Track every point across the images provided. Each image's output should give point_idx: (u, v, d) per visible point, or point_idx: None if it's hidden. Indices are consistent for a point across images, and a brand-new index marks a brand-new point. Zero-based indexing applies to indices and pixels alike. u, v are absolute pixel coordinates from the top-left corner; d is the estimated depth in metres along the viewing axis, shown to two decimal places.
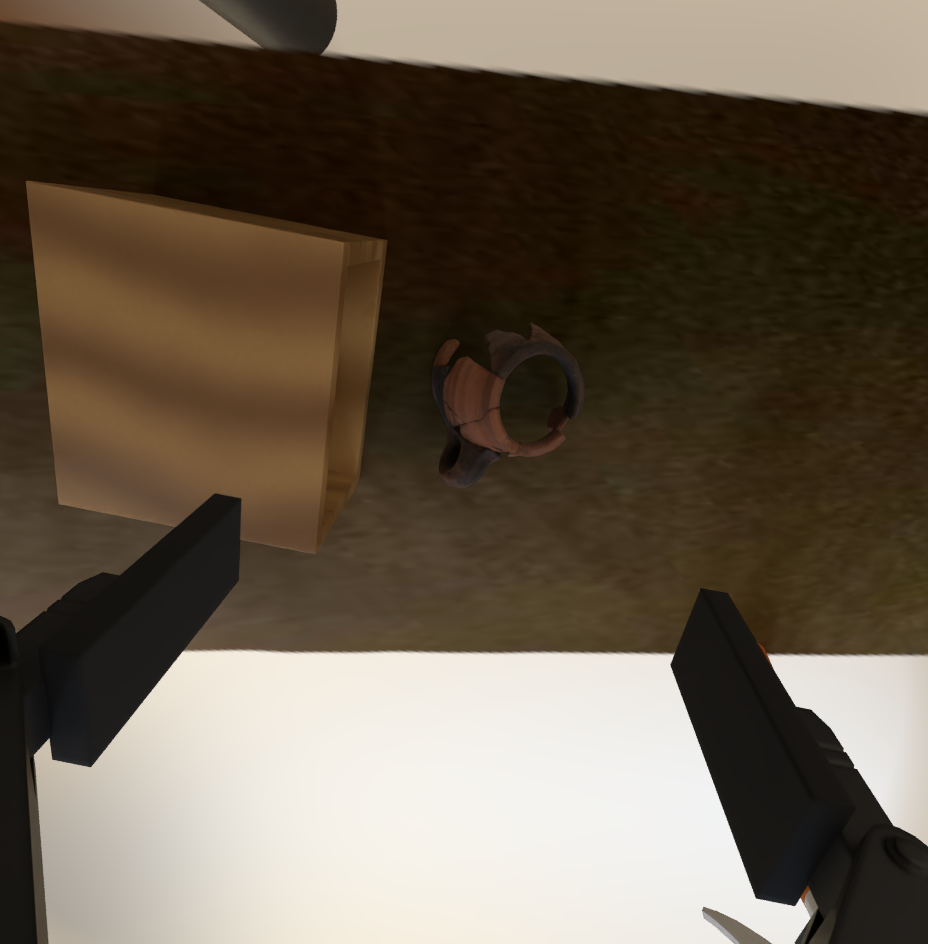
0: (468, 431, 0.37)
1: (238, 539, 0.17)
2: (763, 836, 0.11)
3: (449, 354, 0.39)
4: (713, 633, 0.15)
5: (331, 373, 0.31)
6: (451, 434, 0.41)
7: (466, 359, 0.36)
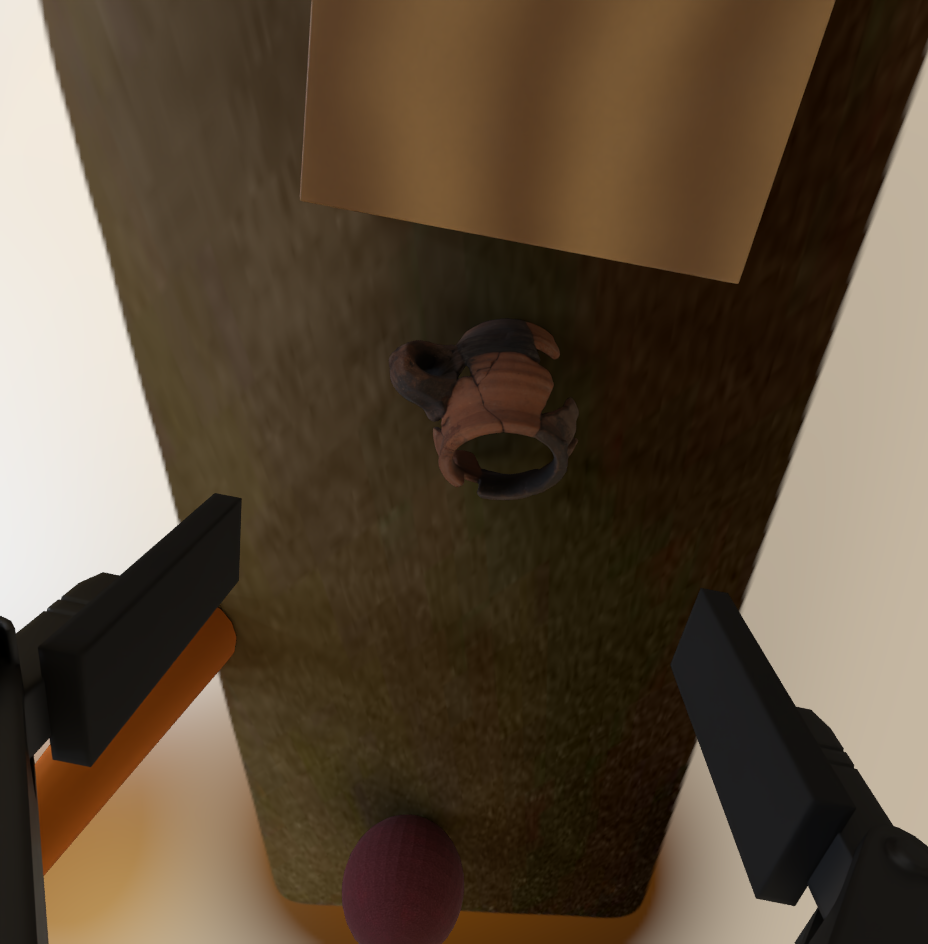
0: (467, 389, 0.31)
1: (238, 539, 0.17)
2: (763, 836, 0.11)
3: (545, 350, 0.34)
4: (713, 633, 0.15)
5: (575, 252, 0.24)
6: (449, 352, 0.34)
7: (551, 385, 0.31)
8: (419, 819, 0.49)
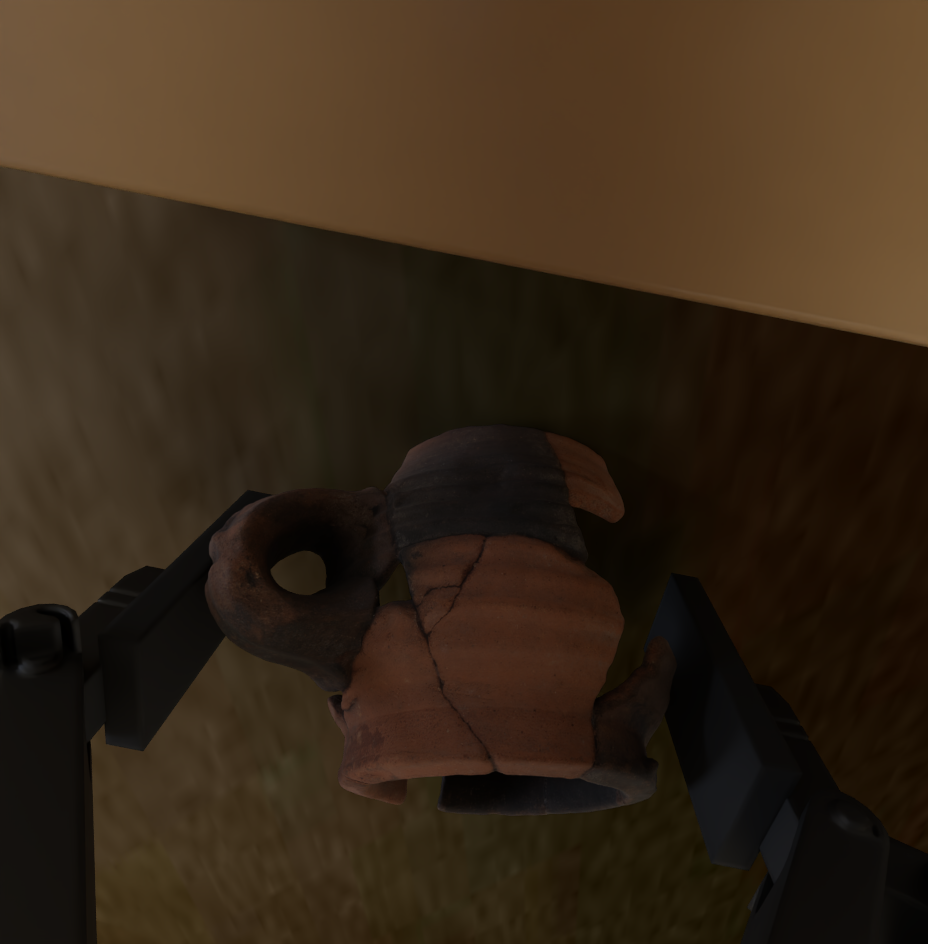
0: (399, 645, 0.12)
1: None
2: (718, 804, 0.12)
3: (593, 507, 0.14)
4: (681, 615, 0.15)
5: (884, 333, 0.04)
6: (367, 513, 0.14)
7: (619, 626, 0.12)
8: None
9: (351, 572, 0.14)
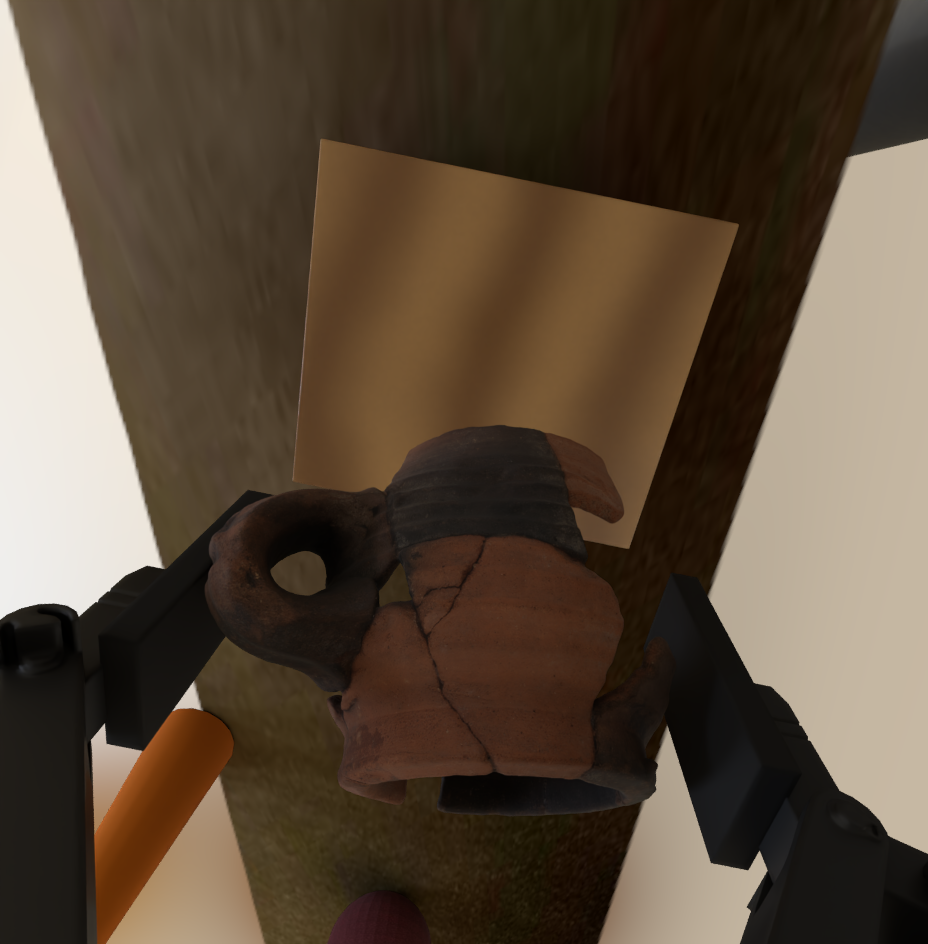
0: (399, 646, 0.12)
1: None
2: (718, 803, 0.12)
3: (592, 508, 0.14)
4: (681, 615, 0.15)
5: None
6: (367, 514, 0.14)
7: (619, 628, 0.12)
8: (393, 896, 0.56)
9: (351, 572, 0.14)
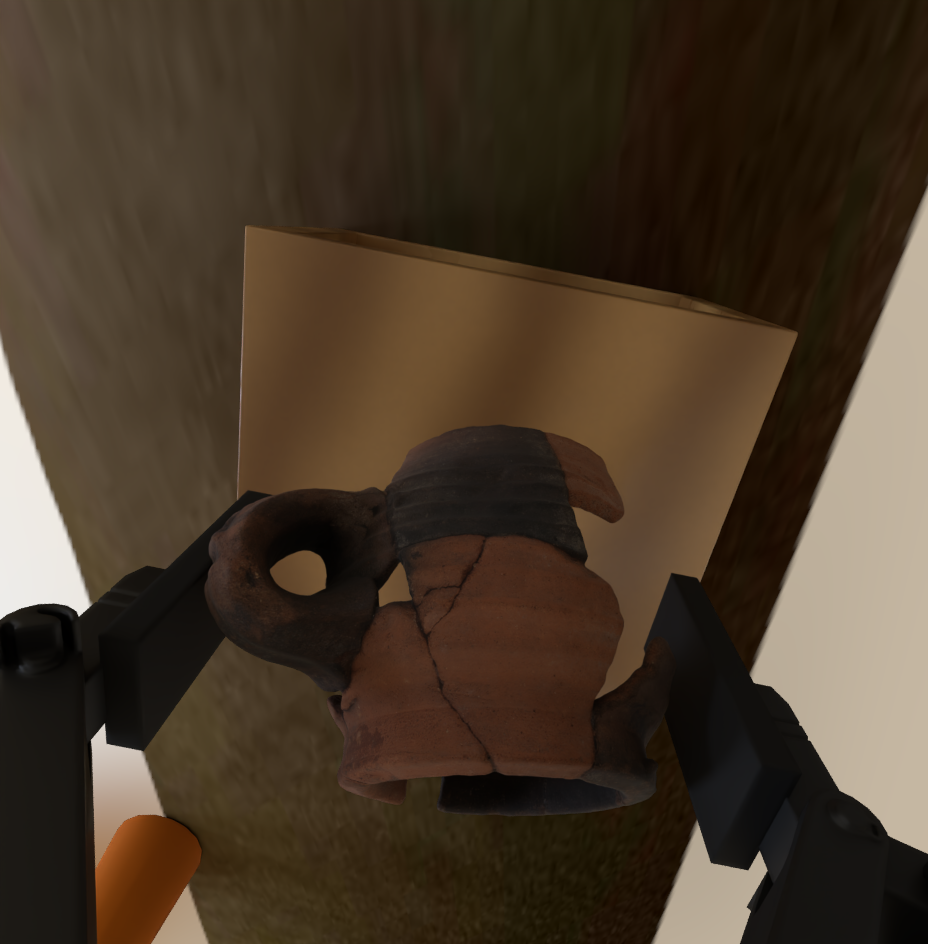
0: (399, 645, 0.12)
1: None
2: (718, 803, 0.12)
3: (593, 508, 0.14)
4: (681, 615, 0.15)
5: None
6: (367, 514, 0.14)
7: (619, 627, 0.12)
8: None
9: (351, 572, 0.14)
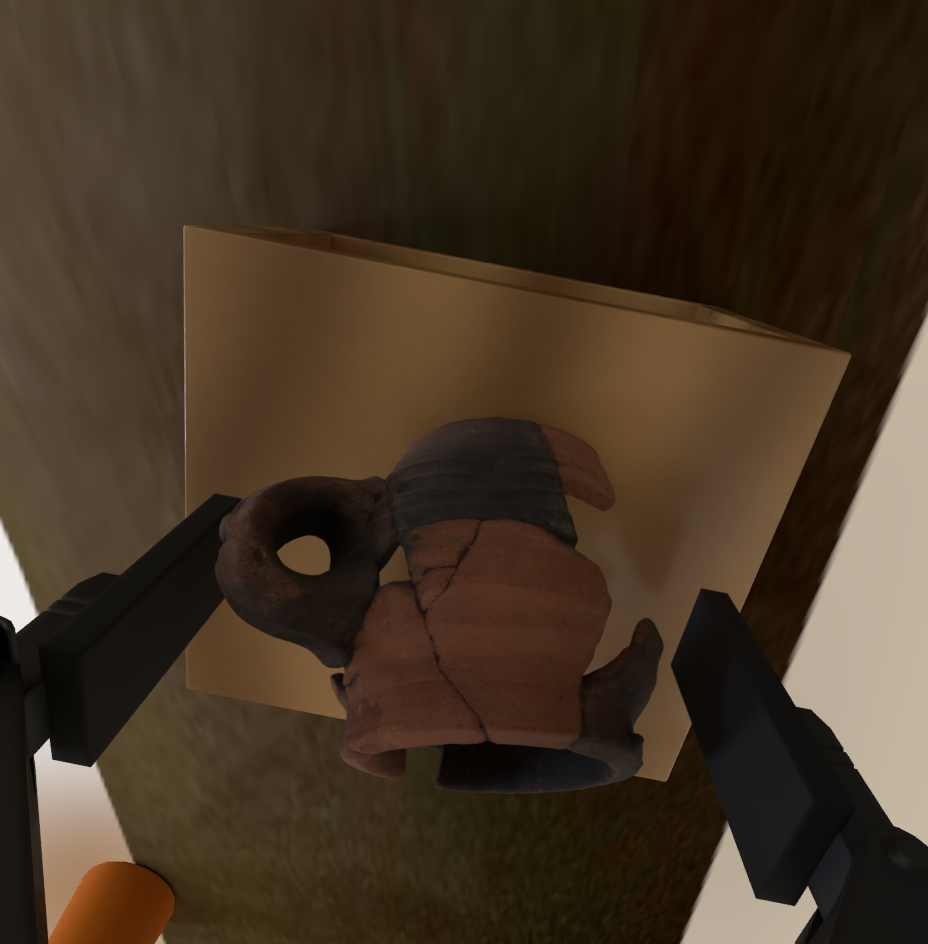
0: (398, 621, 0.13)
1: None
2: (763, 836, 0.11)
3: (585, 495, 0.15)
4: (713, 633, 0.15)
5: None
6: (369, 500, 0.15)
7: (607, 606, 0.13)
8: None
9: (353, 555, 0.14)
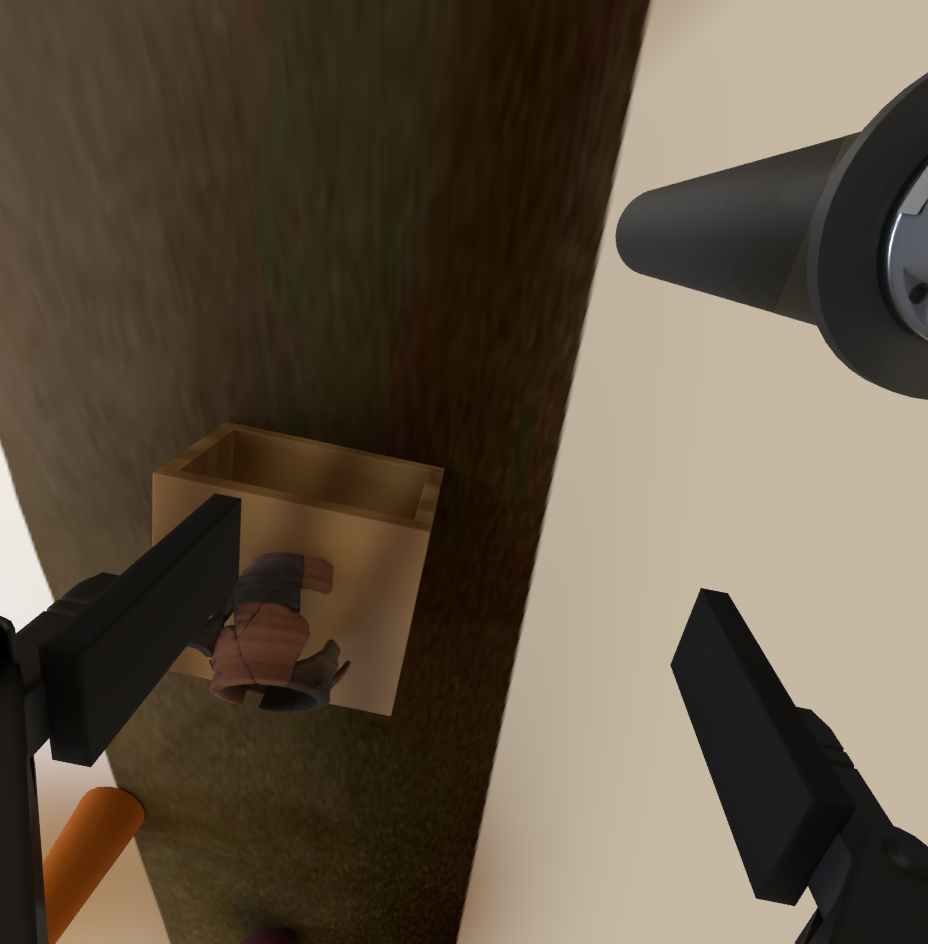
0: (228, 640, 0.34)
1: (238, 539, 0.17)
2: (763, 836, 0.11)
3: (315, 589, 0.37)
4: (713, 633, 0.15)
5: None
6: None
7: (307, 636, 0.35)
8: (278, 934, 0.69)
9: (218, 613, 0.36)
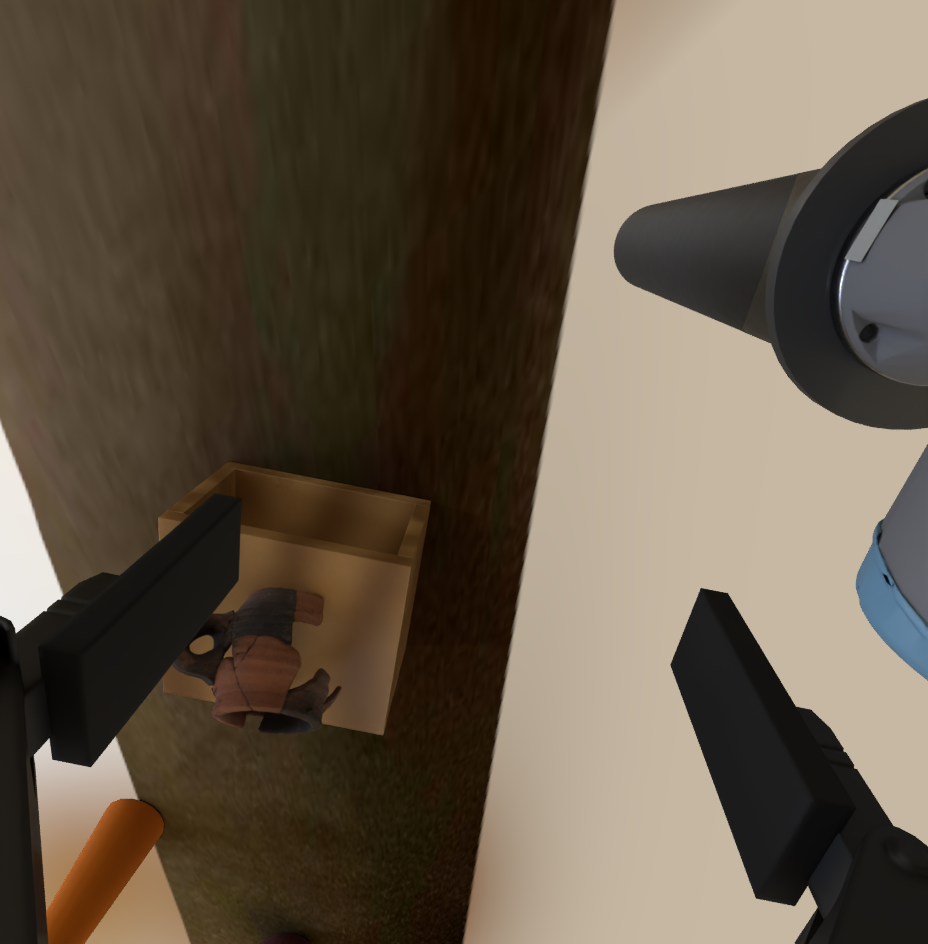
0: (227, 671, 0.38)
1: (238, 539, 0.17)
2: (763, 836, 0.11)
3: (306, 621, 0.40)
4: (713, 633, 0.15)
5: None
6: (226, 623, 0.40)
7: (298, 666, 0.38)
8: (291, 938, 0.73)
9: (218, 645, 0.40)
